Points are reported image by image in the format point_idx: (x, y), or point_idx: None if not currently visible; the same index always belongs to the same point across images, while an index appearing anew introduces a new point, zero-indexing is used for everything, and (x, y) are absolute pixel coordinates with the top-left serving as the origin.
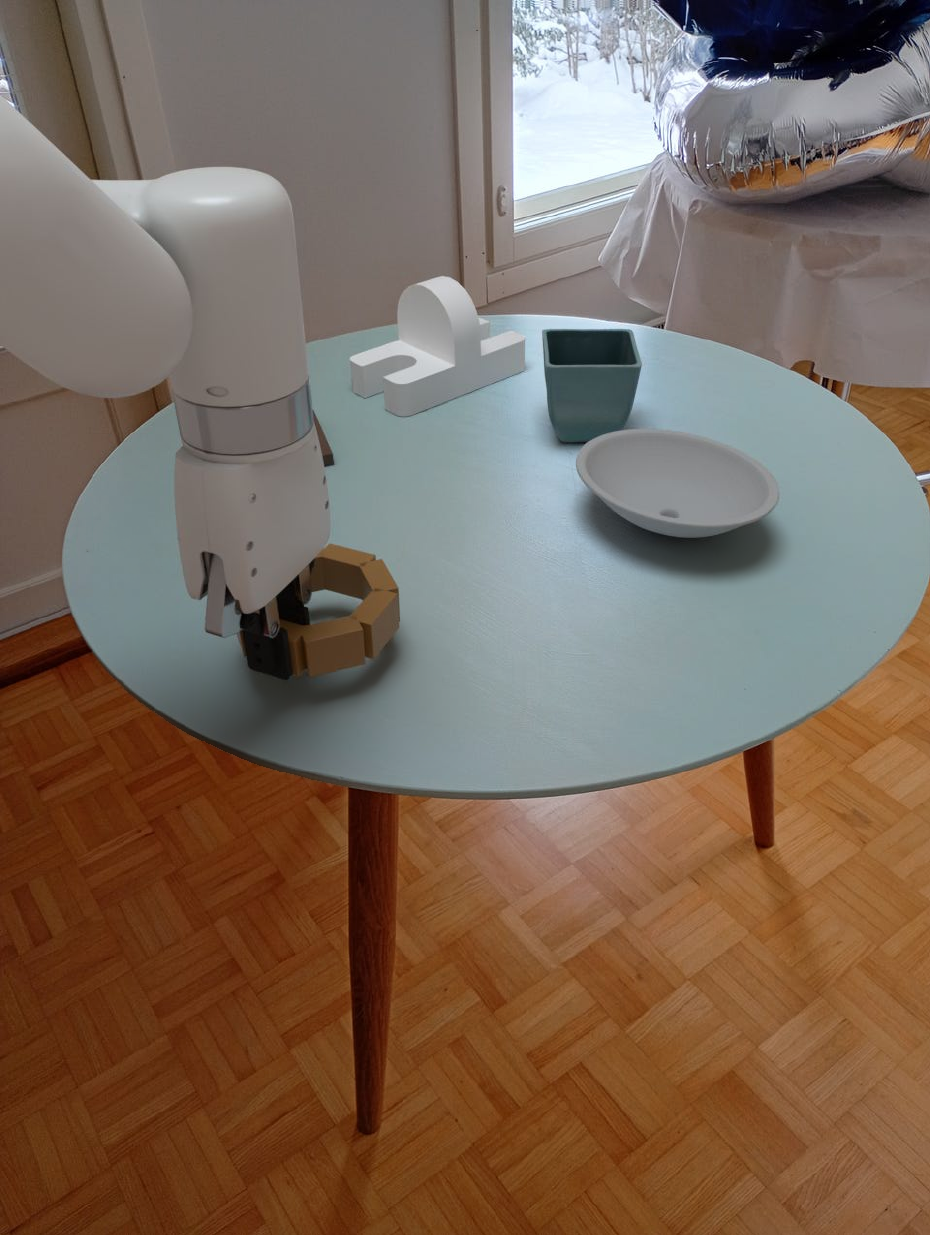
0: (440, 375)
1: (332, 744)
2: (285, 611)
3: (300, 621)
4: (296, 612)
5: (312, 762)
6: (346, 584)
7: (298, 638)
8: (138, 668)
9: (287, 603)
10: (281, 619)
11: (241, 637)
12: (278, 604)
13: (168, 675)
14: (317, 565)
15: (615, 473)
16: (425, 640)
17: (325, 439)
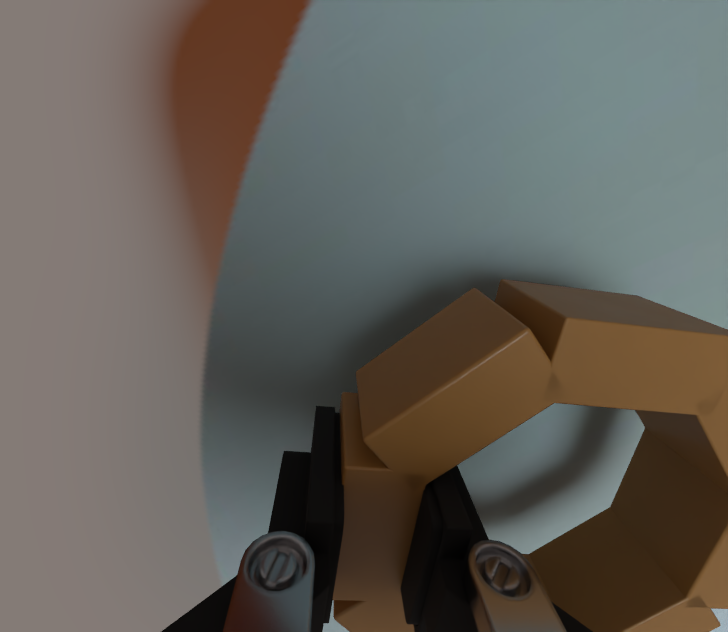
0: None
1: (265, 511)
2: (415, 586)
3: (403, 596)
4: (412, 620)
5: (217, 500)
6: (646, 503)
7: (346, 597)
8: (347, 29)
9: (430, 617)
10: (411, 538)
11: (359, 408)
12: (433, 576)
13: (343, 130)
14: (709, 472)
15: None
16: (541, 546)
17: None
